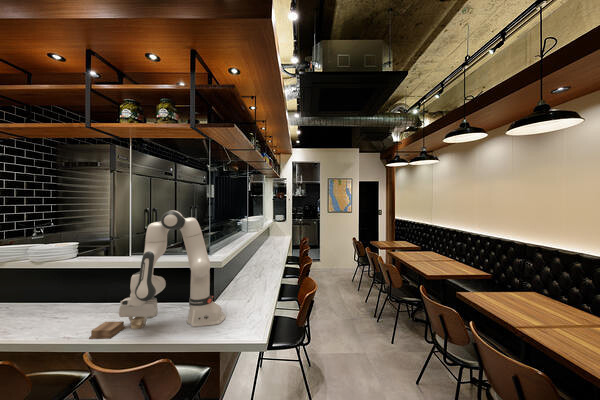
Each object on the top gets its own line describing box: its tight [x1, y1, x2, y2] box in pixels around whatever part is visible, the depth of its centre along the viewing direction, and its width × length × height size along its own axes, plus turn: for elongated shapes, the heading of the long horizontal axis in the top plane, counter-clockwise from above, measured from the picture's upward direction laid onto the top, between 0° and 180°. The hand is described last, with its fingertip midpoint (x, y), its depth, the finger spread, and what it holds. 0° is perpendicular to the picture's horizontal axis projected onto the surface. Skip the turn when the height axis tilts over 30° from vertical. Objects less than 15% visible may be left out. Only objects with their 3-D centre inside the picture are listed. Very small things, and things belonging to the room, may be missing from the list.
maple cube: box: [130, 317, 146, 330], centre depth 141 cm, size 5×5×5 cm
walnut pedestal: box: [88, 320, 126, 340], centre depth 133 cm, size 11×11×4 cm
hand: (138, 323), depth 141 cm, fingers closed on maple cube, 5 cm apart
